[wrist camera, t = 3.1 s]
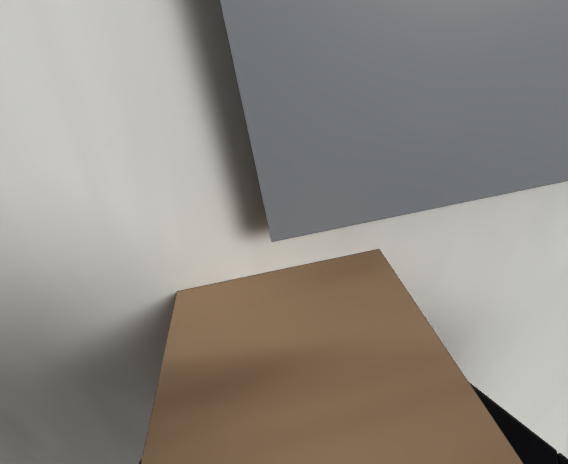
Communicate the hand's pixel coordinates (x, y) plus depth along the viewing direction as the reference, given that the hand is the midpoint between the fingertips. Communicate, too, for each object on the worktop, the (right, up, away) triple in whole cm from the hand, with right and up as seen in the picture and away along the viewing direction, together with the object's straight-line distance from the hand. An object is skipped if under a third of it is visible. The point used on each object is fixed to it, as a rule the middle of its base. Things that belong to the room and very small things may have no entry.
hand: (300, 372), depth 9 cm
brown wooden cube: (0, 0, +1) cm, 1 cm away
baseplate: (+6, +12, -5) cm, 14 cm away
